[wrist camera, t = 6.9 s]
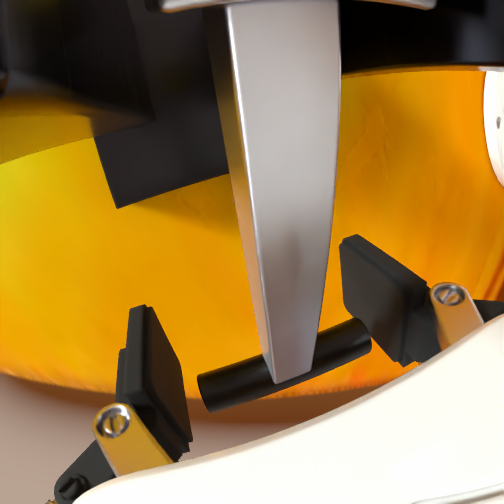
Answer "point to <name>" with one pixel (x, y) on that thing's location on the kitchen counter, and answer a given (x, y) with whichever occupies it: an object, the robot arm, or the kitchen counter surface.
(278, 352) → the lever
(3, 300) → the kitchen counter surface
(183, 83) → the bracket
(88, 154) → the kitchen counter surface
